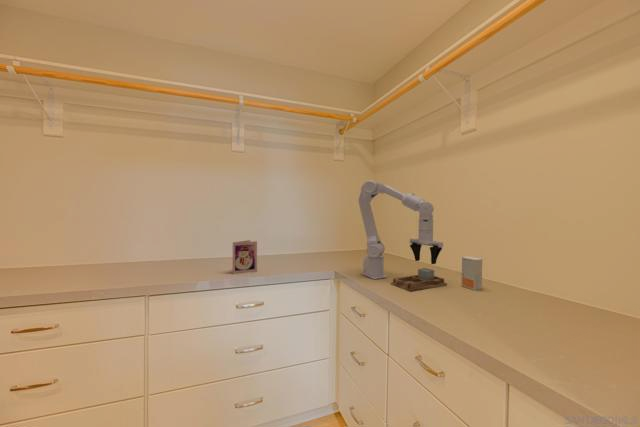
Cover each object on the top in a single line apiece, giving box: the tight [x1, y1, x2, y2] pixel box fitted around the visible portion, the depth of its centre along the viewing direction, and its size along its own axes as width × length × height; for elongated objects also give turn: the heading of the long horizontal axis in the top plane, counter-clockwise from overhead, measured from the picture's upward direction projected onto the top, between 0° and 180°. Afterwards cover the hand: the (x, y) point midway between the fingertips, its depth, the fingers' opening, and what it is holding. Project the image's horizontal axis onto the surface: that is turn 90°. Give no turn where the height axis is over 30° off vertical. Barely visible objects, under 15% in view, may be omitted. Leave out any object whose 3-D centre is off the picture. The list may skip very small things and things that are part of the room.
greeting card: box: [232, 239, 258, 275], centre depth 128 cm, size 11×7×15 cm, turn 116°
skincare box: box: [460, 255, 483, 291], centre depth 104 cm, size 6×4×12 cm
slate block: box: [417, 267, 435, 281], centre depth 109 cm, size 4×4×5 cm
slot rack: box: [390, 274, 448, 293], centre depth 107 cm, size 11×20×3 cm, turn 116°
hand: (425, 262), depth 111 cm, fingers open, 7 cm apart
